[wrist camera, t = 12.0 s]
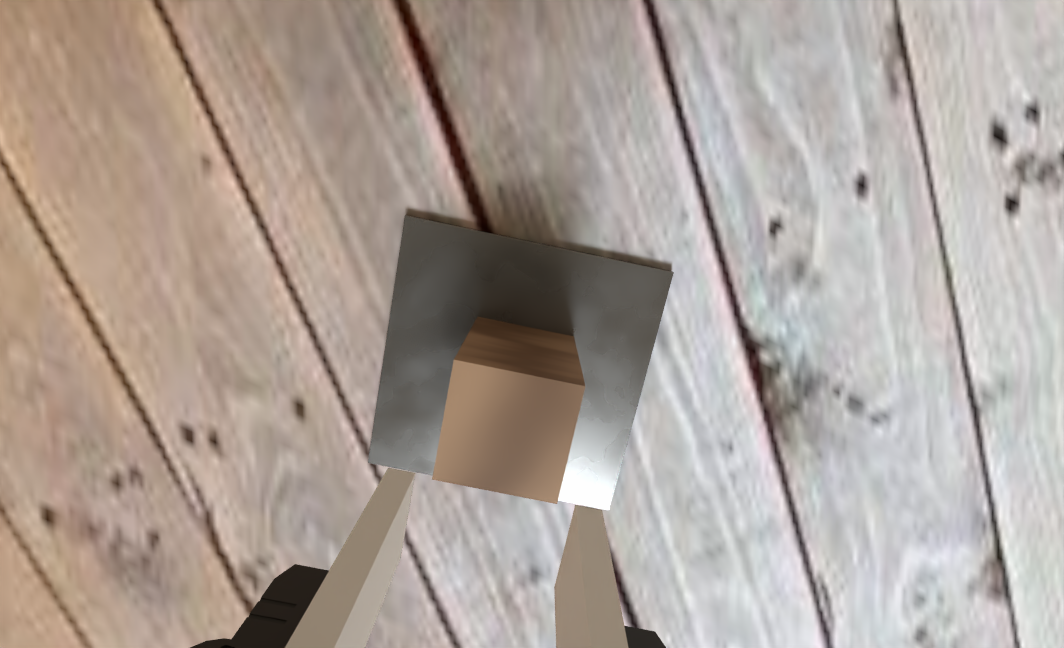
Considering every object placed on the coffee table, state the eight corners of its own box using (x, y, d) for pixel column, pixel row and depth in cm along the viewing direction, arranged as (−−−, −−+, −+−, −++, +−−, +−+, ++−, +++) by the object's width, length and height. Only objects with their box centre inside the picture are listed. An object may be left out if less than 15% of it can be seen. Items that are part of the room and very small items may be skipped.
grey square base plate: (370, 459, 31) (326, 525, 24) (407, 215, 27) (367, 219, 21) (608, 506, 31) (624, 583, 25) (671, 271, 28) (708, 291, 22)
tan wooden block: (460, 406, 29) (432, 479, 22) (477, 316, 28) (453, 359, 21) (553, 425, 29) (556, 504, 22) (573, 336, 28) (585, 386, 21)
